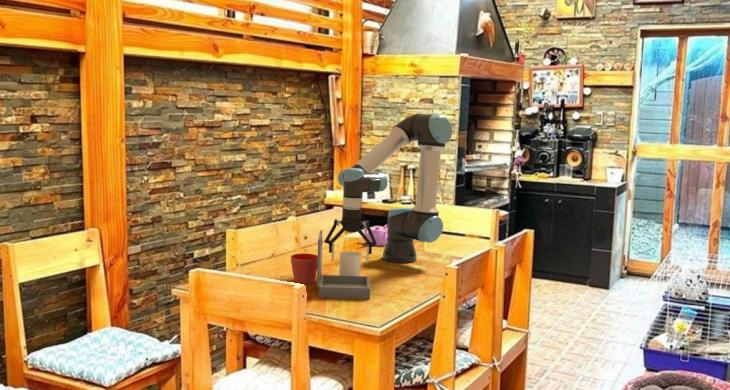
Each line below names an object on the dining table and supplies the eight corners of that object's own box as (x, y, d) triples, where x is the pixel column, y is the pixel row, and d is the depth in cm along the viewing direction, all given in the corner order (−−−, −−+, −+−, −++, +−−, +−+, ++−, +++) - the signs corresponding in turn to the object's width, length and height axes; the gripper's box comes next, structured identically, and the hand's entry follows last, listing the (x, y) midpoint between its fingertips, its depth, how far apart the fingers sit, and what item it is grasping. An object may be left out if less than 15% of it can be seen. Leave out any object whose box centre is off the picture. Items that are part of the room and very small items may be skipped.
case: (368, 285, 267) (370, 231, 264) (369, 299, 248) (371, 240, 245) (317, 284, 266) (319, 229, 263) (315, 297, 248) (316, 239, 245)
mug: (341, 274, 283) (342, 248, 282) (361, 275, 282) (362, 249, 281) (337, 281, 271) (338, 255, 270) (359, 282, 270) (360, 256, 269)
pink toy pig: (386, 241, 352) (387, 224, 351) (391, 247, 338) (392, 229, 337) (363, 241, 350) (363, 223, 349) (366, 247, 337) (367, 229, 335)
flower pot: (307, 286, 263) (308, 260, 261) (284, 281, 268) (285, 256, 267) (324, 280, 272) (324, 256, 270) (301, 276, 277) (301, 252, 276)
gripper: (383, 208, 277) (381, 260, 280) (320, 205, 276) (318, 258, 279) (384, 210, 270) (381, 265, 272) (319, 208, 269) (317, 262, 271)
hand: (349, 261), depth 276 cm, fingers open, 13 cm apart
